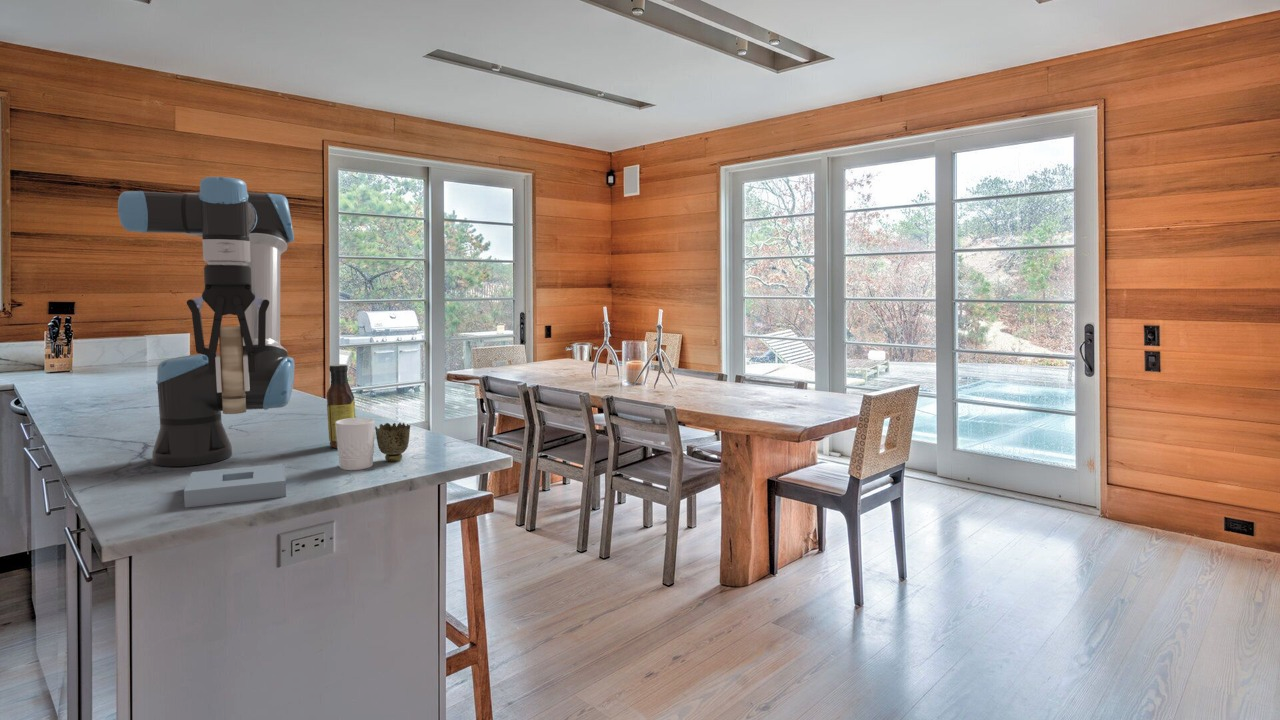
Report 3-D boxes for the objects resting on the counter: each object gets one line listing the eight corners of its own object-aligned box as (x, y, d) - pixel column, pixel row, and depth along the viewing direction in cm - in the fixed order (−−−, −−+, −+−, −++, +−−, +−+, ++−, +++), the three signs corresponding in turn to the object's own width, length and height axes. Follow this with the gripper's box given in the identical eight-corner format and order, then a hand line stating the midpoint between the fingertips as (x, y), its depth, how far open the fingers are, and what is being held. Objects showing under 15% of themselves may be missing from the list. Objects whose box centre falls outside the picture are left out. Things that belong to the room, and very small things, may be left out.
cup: (400, 465, 157) (399, 429, 156) (369, 463, 159) (368, 427, 158) (417, 457, 164) (416, 423, 164) (387, 455, 166) (386, 421, 165)
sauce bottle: (362, 445, 176) (359, 364, 174) (339, 450, 171) (336, 367, 169) (345, 442, 179) (343, 362, 177) (322, 446, 174) (319, 365, 172)
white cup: (352, 473, 151) (350, 426, 150) (329, 467, 155) (327, 421, 154) (383, 465, 157) (382, 420, 156) (360, 460, 161) (359, 416, 160)
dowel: (223, 411, 135) (218, 326, 134) (246, 410, 137) (242, 326, 136) (222, 414, 132) (217, 327, 130) (246, 413, 134) (242, 327, 132)
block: (192, 487, 139) (191, 472, 139) (284, 478, 146) (284, 463, 146) (184, 507, 127) (183, 491, 126) (286, 496, 134) (285, 480, 134)
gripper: (170, 262, 125) (178, 396, 127) (278, 264, 132) (284, 390, 135) (175, 263, 131) (182, 390, 134) (278, 265, 139) (283, 385, 141)
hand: (233, 390), depth 134 cm, fingers closed on dowel, 4 cm apart
